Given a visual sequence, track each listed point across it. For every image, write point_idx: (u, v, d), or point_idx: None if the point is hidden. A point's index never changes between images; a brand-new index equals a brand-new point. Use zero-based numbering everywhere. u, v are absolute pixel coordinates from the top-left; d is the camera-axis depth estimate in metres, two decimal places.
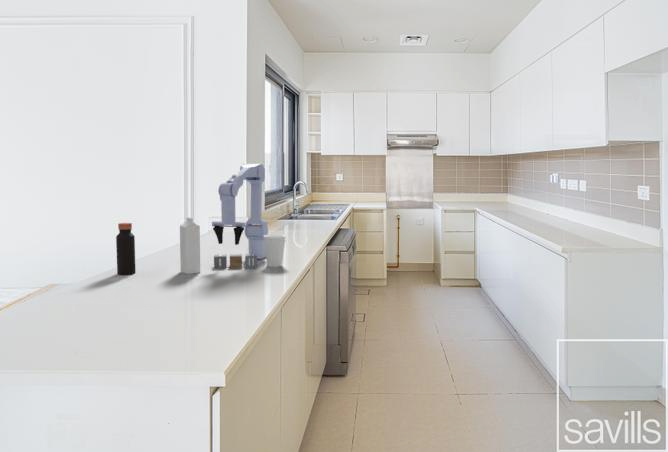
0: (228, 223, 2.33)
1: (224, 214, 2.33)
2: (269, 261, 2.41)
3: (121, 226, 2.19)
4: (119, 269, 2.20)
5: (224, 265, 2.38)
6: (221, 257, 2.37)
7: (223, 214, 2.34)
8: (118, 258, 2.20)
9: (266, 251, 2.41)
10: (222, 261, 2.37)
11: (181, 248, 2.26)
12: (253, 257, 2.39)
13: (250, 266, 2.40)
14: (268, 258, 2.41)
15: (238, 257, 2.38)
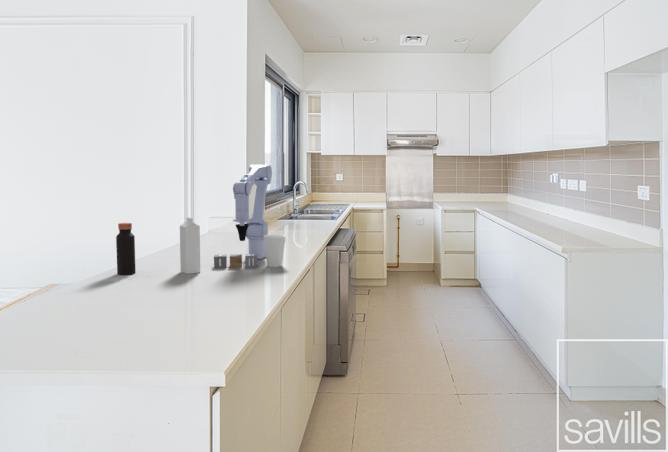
0: (235, 220, 2.43)
1: None
2: (269, 261, 2.41)
3: (121, 226, 2.19)
4: (119, 269, 2.20)
5: (224, 265, 2.38)
6: (221, 257, 2.37)
7: None
8: (118, 258, 2.20)
9: (266, 251, 2.41)
10: (222, 261, 2.37)
11: (181, 248, 2.26)
12: (253, 257, 2.39)
13: (250, 266, 2.40)
14: (268, 258, 2.41)
15: (238, 257, 2.38)
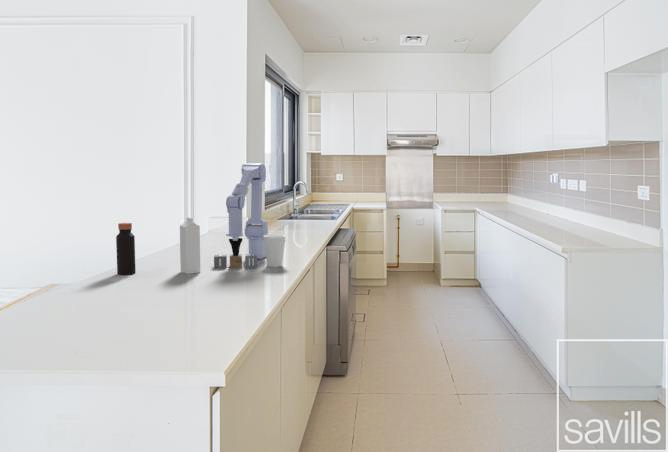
0: (229, 234, 2.38)
1: None
2: (269, 261, 2.41)
3: (121, 226, 2.19)
4: (119, 269, 2.20)
5: (224, 265, 2.38)
6: (221, 257, 2.37)
7: None
8: (118, 258, 2.20)
9: (266, 251, 2.41)
10: (222, 261, 2.37)
11: (181, 248, 2.26)
12: (253, 257, 2.39)
13: (250, 266, 2.40)
14: (268, 258, 2.41)
15: (238, 257, 2.38)
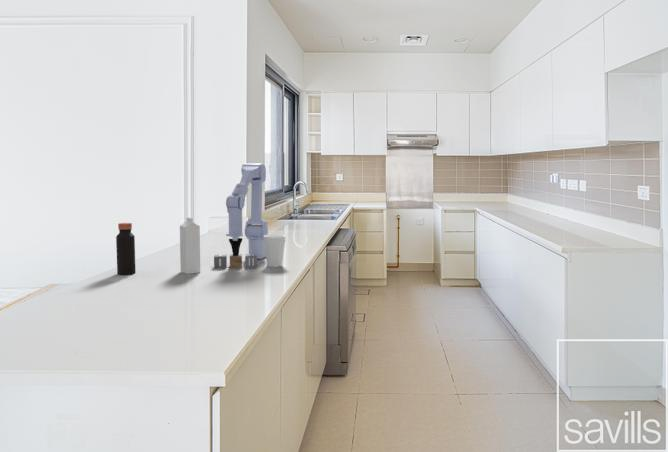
0: (229, 234, 2.38)
1: None
2: (269, 261, 2.41)
3: (121, 226, 2.19)
4: (119, 269, 2.20)
5: (224, 265, 2.38)
6: (221, 257, 2.37)
7: None
8: (118, 258, 2.20)
9: (266, 251, 2.41)
10: (222, 261, 2.37)
11: (181, 248, 2.26)
12: (253, 257, 2.39)
13: (250, 266, 2.40)
14: (268, 258, 2.41)
15: (238, 257, 2.38)
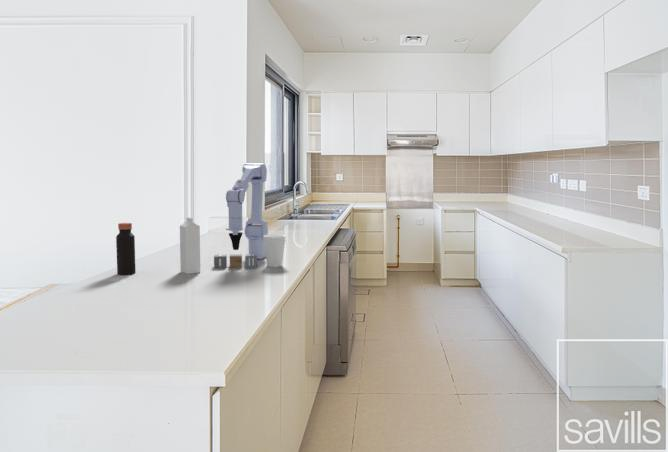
0: (229, 229, 2.38)
1: None
2: (269, 261, 2.41)
3: (121, 226, 2.19)
4: (119, 269, 2.20)
5: (224, 265, 2.38)
6: (221, 257, 2.37)
7: None
8: (118, 258, 2.20)
9: (266, 251, 2.41)
10: (222, 261, 2.37)
11: (181, 248, 2.26)
12: (253, 257, 2.39)
13: (250, 266, 2.40)
14: (268, 258, 2.41)
15: (238, 257, 2.38)
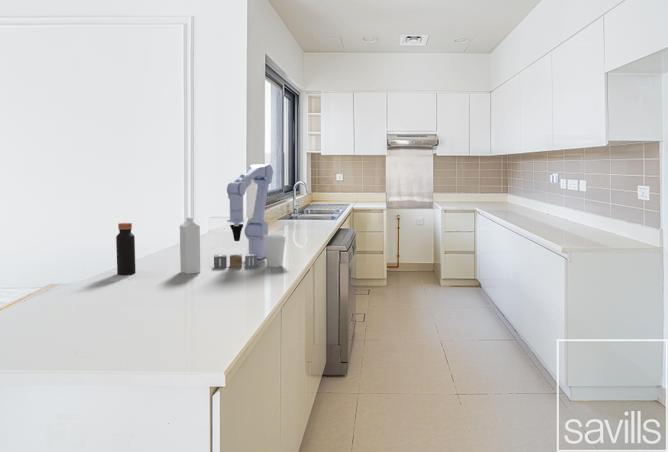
0: (230, 220, 2.43)
1: None
2: (269, 261, 2.41)
3: (121, 226, 2.19)
4: (119, 269, 2.20)
5: (224, 265, 2.38)
6: (221, 257, 2.37)
7: None
8: (118, 258, 2.20)
9: (266, 251, 2.41)
10: (222, 261, 2.37)
11: (181, 248, 2.26)
12: (253, 257, 2.39)
13: (250, 266, 2.40)
14: (268, 258, 2.41)
15: (238, 257, 2.38)
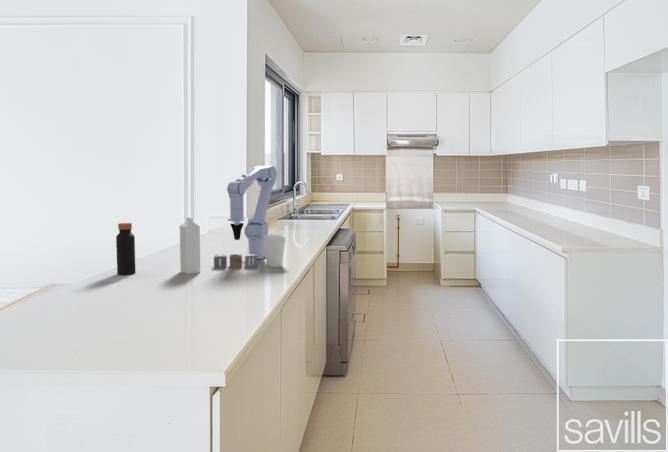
0: (230, 219, 2.46)
1: None
2: (269, 261, 2.41)
3: (121, 226, 2.19)
4: (119, 269, 2.20)
5: (224, 265, 2.38)
6: (221, 257, 2.37)
7: None
8: (118, 258, 2.20)
9: (266, 251, 2.41)
10: (222, 261, 2.37)
11: (181, 248, 2.26)
12: (253, 257, 2.39)
13: (250, 266, 2.40)
14: (268, 258, 2.41)
15: (238, 257, 2.38)
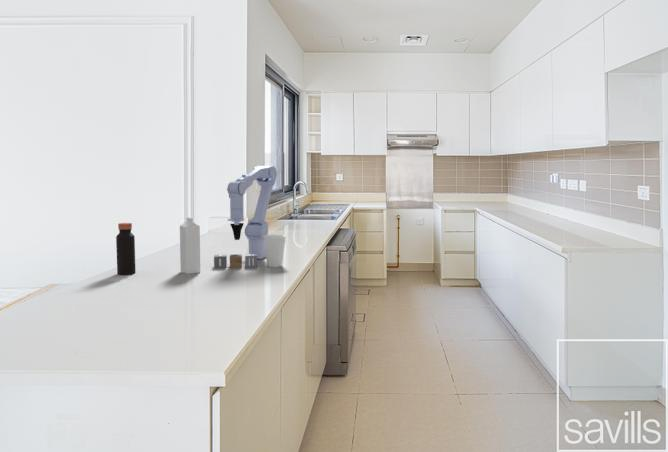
0: (230, 219, 2.46)
1: None
2: (269, 261, 2.41)
3: (121, 226, 2.19)
4: (119, 269, 2.20)
5: (224, 265, 2.38)
6: (221, 257, 2.37)
7: None
8: (118, 258, 2.20)
9: (266, 251, 2.41)
10: (222, 261, 2.37)
11: (181, 248, 2.26)
12: (253, 257, 2.39)
13: (250, 266, 2.40)
14: (268, 258, 2.41)
15: (238, 257, 2.38)
